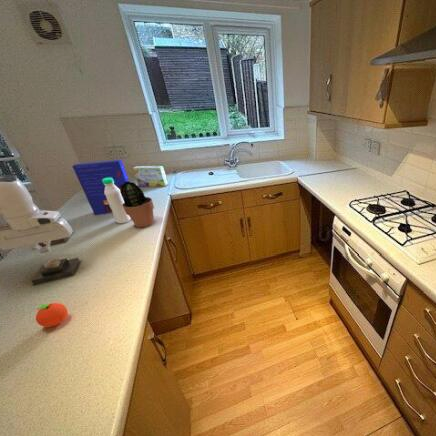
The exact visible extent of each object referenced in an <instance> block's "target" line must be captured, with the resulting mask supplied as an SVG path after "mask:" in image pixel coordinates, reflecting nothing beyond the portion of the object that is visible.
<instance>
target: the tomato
mask: <svg viewBox="0 0 436 436" xmlns="http://www.w3.org/2000/svg"><path fill="white" fill-rule="evenodd" d="M67 315H68V308H67V307H66V305H65V304H63V303H61V302H51V303H47V304H42V305H40V306H39V307H38V308H37V313H36V314H35V321H36V323H37V324H38V326H41V327H44V328H50V327H55V326H57V325H59V324H61V323H62V322H63V321H64V320H65V319H66V317H67Z"/></svg>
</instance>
